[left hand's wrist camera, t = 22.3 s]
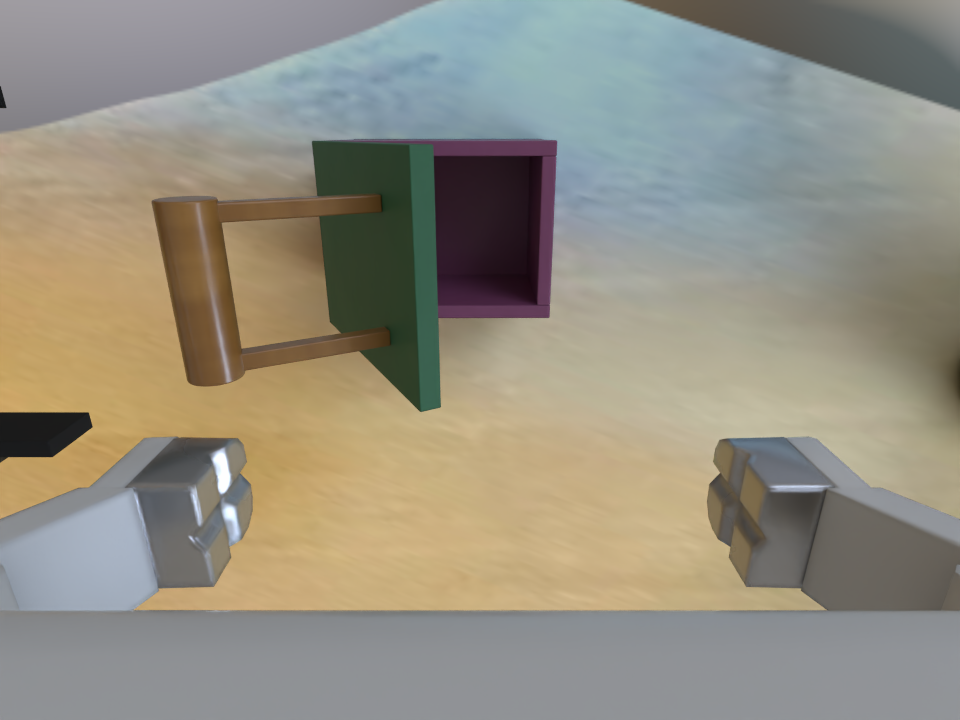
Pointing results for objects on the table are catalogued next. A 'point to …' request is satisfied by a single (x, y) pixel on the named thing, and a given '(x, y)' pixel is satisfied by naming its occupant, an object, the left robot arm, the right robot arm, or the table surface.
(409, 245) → the lid
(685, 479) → the table surface
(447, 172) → the chest
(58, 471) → the table surface
